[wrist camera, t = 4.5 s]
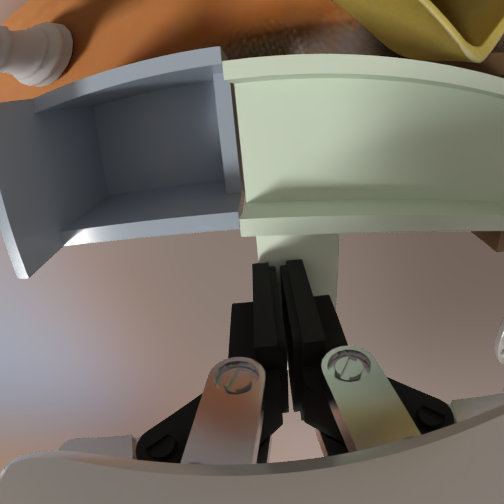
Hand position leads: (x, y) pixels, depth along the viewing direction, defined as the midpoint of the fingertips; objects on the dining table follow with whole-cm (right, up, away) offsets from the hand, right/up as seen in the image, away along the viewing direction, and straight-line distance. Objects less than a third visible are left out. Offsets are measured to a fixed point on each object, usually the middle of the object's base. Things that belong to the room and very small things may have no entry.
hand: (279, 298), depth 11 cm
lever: (+8, +2, -1) cm, 9 cm away
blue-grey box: (-6, +8, +6) cm, 12 cm away
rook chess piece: (-14, +14, +3) cm, 20 cm away
